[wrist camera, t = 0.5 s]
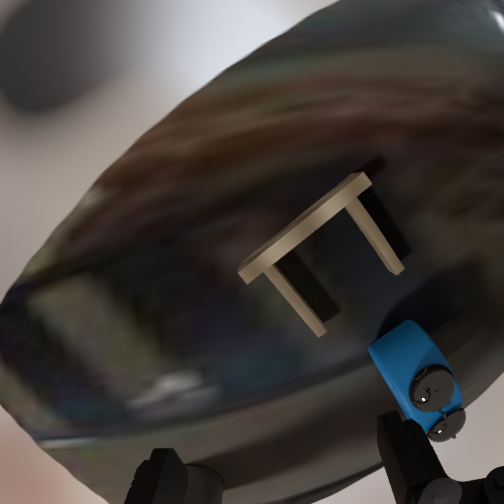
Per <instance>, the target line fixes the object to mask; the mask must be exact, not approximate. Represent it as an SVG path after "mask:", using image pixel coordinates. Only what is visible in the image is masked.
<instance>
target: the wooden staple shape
mask: <svg viewBox="0 0 504 504" xmlns="http://www.w3.org/2000/svg"><path fill="white" fill-rule="evenodd" d="M371 184H372V183H371V182H370V180H369V179H368V177H367V176H366V175H365V173H364V172H359V173H352V174H351V175H349V176H348V177H347V178H346V179H344V180H343V181H342V182H341V183H339V184H338V185H337V186H336V187H334V188H333V189H332V190H331V191H329V192H328V193H327V194H326V195H325V196H323V197H322V198H321V199H320V200H318V201H317V202H316V203H315V204H313V205H312V206H311V207H310V208H308V209H307V210H306V211H305V212H303V213H302V214H301V215H300V216H298V217H297V218H296V219H295V220H293V221H292V222H291V223H290V224H288V225H287V226H286V227H285V228H283V229H282V230H281V231H280V232H278V233H277V234H276V235H275V236H273V237H272V238H271V239H270V240H268V241H267V242H266V243H265V244H264V245H262V246H261V247H260V248H259V249H257V250H256V251H255V252H254V253H252V254H251V255H250V256H249V257H247V258H246V259H245V260H244V261H242V262H241V263H240V264H239V269H238V274H239V275H240V276H241V277H242V278H243V280H244V281H245V282H246V283H247V284H248V283H250V282H251V281H252V280H253V279H255V278H256V277H257V276H259V275H260V274H261V273H262V272H264V273H265V274H266V276H267V277H268V278H269V279H270V280H271V282H272V283H273V284H274V285H275V286H276V288H277V289H278V290H279V291H280V292H281V294H282V295H283V296H284V297H285V298H286V299H287V301H288V302H289V303H290V304H291V305H292V307H293V308H294V309H295V310H296V311H297V313H298V314H299V315H300V316H301V317H302V319H303V320H304V321H305V322H306V323H307V324H308V326H309V327H310V328H311V329H312V330H313V332H314V333H315V334H316V335H317V336H318V338H319V337H320V336H322V335H323V334H324V333H326V332H327V330H326V328H325V326H324V324H323V322H322V321H321V320H320V318H319V317H318V316H317V315H316V313H315V312H314V311H313V310H312V309H311V307H310V306H309V305H308V304H307V302H306V301H305V300H304V299H303V298H302V296H301V295H300V294H299V293H298V291H297V290H296V289H295V288H294V287H293V285H292V284H291V283H290V282H289V280H288V279H287V278H286V277H285V276H284V274H283V273H282V272H281V271H280V270H279V268H278V267H277V266H276V265H275V262H276V261H278V260H279V259H280V258H281V257H283V256H284V255H285V254H286V253H288V252H289V251H290V250H291V249H293V248H294V247H295V246H296V245H298V244H299V243H300V242H301V241H303V240H304V239H305V238H306V237H308V236H309V235H310V234H311V233H313V232H314V231H315V230H316V229H318V228H319V227H320V226H321V225H323V224H324V223H325V222H326V221H327V220H329V219H330V218H331V217H332V216H334V215H335V214H336V213H337V212H339V211H340V210H341V209H342V208H343V207H345V208H346V210H347V211H348V212H349V214H350V215H351V217H352V218H353V219H354V221H355V222H356V224H357V225H358V226H359V228H360V229H361V231H362V232H363V233H364V235H365V236H366V238H367V239H368V241H369V242H370V244H371V245H372V246H373V248H374V249H375V251H376V252H377V254H378V255H379V257H380V258H381V260H382V261H383V263H384V264H385V266H386V267H387V269H388V270H389V271H390V272H392V273H394V274H395V275H398V274H399V273H400V272H401V271H403V270H404V267H403V266H402V264H401V262H400V261H399V259H398V258H397V256H396V254H395V253H394V251H393V250H392V248H391V247H390V245H389V244H388V242H387V241H386V239H385V238H384V236H383V235H382V233H381V232H380V230H379V229H378V227H377V226H376V224H375V223H374V221H373V220H372V218H371V217H370V215H369V214H368V213H367V211H366V210H365V208H364V207H363V205H362V204H361V203H360V201H359V200H358V198H357V196H358V195H359V194H361V193H362V192H363V191H364V190H365V189H367V188H368V187H369V186H370V185H371Z"/></svg>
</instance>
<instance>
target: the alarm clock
mask: <svg viewBox="0 0 504 504" xmlns="http://www.w3.org/2000/svg"><path fill="white" fill-rule="evenodd" d="M368 350H369V353H370V355H371V357H372V358H373V360H374V362H375V364H376V366H377V367H378V369H379V371H380V373H381V374H382V376H383V378H384V379H385V381H386V383H387V385H388V386H389V388H390V390H391V391H392V393H393V395H394V396H395V398H396V400H397V401H398V403H399V405H400V407H401V408H402V410H403V412H404V413H405V415H406V417H407V418H408V419H411V418H412V419H413V420H415V421H416V422H418V423H419V424H420V425H421V426H422V428H423V429H424V431H425V433H426V432H428V431H429V430H430V431H429V432H428V433H427V434H426V435H427V437H428V438H429V439H430V440H431V441H434V442H444V441H447V440H449V439H450V438H453V439H455V438H456V434H457V433H458V432H459V431H460V430H461V429H462V427H463V426H464V423H465V420H466V413H465V411H464V409H463V408H461V407H462V404H463V397H462V393H461V390H460V387H459V384H458V382H457V380H456V377H455V375H454V373H453V371H452V369H451V368H450V366H449V364H448V362H447V361H446V359H445V357H444V356H443V354H442V353H441V351H440V350H439V348H438V347H437V346H436V344H435V343H434V342H433V340H432V339H431V338H430V337H429V335H428V334H427V333H426V332H425V331H424V330H423V329H422V328H421V327H420V326H419V325H418V324H417V323H415V322H414V321H412V320H405V321H404V322H402V323H401V324H399V325H398V326H397V327H395V328H394V329H392V330H391V331H390V332H388V333H387V334H385V335H384V336H382V337H381V338H379V339H378V340H376V341H375V342H372V343H371V345H369V348H368Z"/></svg>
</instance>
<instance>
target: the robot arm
mask: <svg viewBox="0 0 504 504" xmlns="http://www.w3.org/2000/svg"><path fill="white" fill-rule="evenodd" d="M377 444H378V449H379V453H380V456H381V459H382V461H383V464H384V467H385V470H386V473H387V476H388V479H389V482H390V485H391V488H392V491H393V494H394V497H395V501H396V504H504V466H501V467H497V468H495V469H493V470H492V471H491V472H490V473H489V474H488V475H487V477H486V478H482V479H477V480H471V481H465V482H461V481H456V480H454V479H451V478H450V477H448V476H447V474H446V473H445V471H444V469H443V467H442V465H441V463H440V461H439V460H438V457H437V455H436V453H435V451H434V449H433V447H432V445H431V444H430V441H429V439H428V437H427V436H426V433H425V431H424V429H423V428H422V426H421V425H420V424H419V423H418V422H416V421H415V420H413V419H412V418H411V419H408V420H405V421H402V419H401V417H400V415H399V413H398V411H397V410H394V411H391V412H388V413H385V414H381V415H378V416H377ZM223 486H224V484H223V480H222V478H221V477H220V476H219V475H218V474H217V473H215V472H213V471H211V470H209V469H207V468H203V467H199V466H192V465H186V466H184V464H183V463H182V461H181V460H180V458H179V456H178V455H177V453H176V452H175V450H174V449H173V448H155V449H154V450H153V451H152V454H151V456H150V459H149V460H144V461H143V462H142V463H141V465H140V466H139V467H138V468H137V470H136V473H135V475H134V480H133V481H132V483H131V488H130V489H129V491H128V494H127V497H126V500H125V502H124V504H222V496H223Z"/></svg>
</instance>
